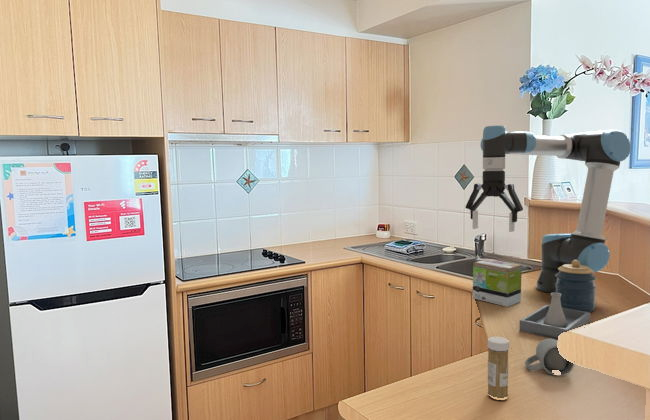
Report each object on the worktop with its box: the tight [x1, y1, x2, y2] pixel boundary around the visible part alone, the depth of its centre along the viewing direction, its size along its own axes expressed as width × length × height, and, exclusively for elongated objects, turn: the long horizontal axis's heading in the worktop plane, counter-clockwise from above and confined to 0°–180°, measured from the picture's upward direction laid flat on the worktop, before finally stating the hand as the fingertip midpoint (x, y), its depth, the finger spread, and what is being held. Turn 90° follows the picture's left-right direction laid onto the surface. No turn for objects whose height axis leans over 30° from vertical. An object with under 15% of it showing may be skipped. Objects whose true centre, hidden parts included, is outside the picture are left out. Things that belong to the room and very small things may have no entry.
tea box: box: [472, 258, 523, 308], centre depth 187 cm, size 15×10×15 cm, turn 40°
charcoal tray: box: [519, 304, 591, 340], centre depth 157 cm, size 22×14×4 cm, turn 136°
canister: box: [555, 260, 597, 314], centre depth 175 cm, size 13×13×18 cm
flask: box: [544, 292, 567, 328], centre depth 156 cm, size 7×7×10 cm
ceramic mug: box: [524, 338, 575, 376], centre depth 125 cm, size 11×8×8 cm
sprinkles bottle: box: [487, 336, 510, 398], centre depth 110 cm, size 5×5×14 cm
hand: (493, 229), depth 175 cm, fingers open, 13 cm apart
